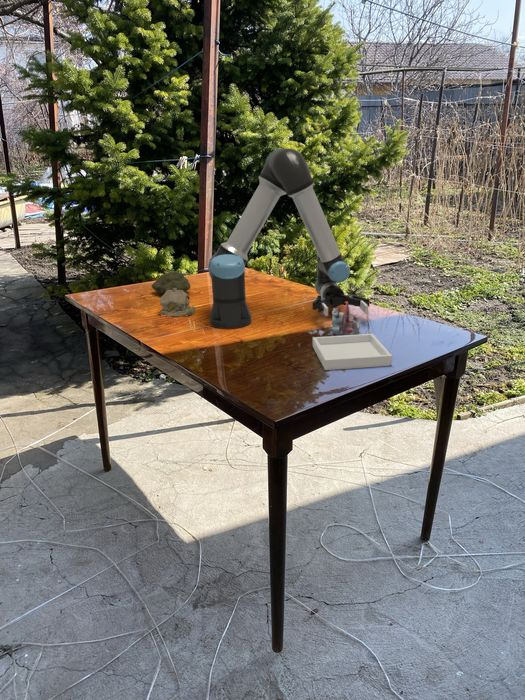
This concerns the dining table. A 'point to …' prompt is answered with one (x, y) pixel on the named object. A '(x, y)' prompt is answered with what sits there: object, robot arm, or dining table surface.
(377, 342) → the tray
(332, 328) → the brake caliper
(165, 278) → the decorative rock
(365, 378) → the dining table surface
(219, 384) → the dining table surface
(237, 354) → the dining table surface
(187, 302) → the ceramic model
